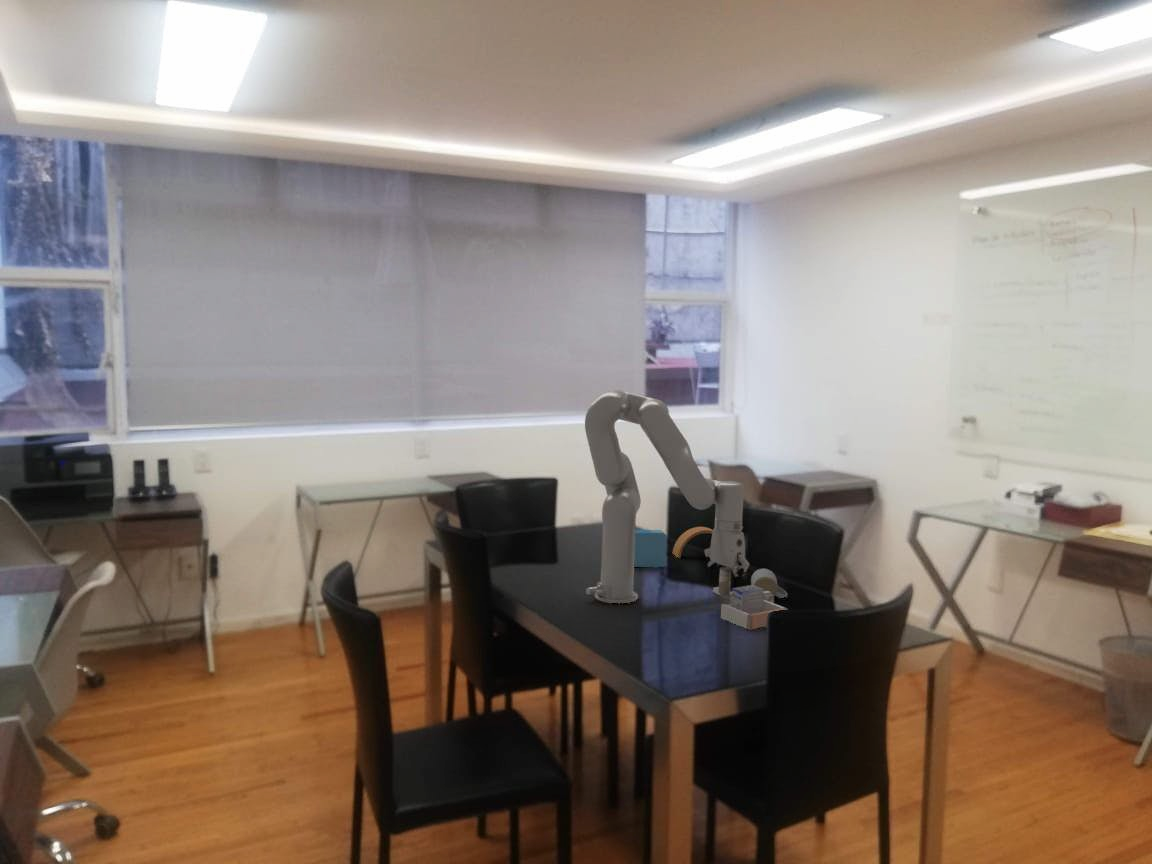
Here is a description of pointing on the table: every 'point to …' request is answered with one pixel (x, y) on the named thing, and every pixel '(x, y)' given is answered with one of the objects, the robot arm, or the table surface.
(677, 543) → the arch
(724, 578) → the crank handle
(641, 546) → the data package
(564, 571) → the table surface
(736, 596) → the medicine box
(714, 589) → the guide rail
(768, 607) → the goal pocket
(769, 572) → the ceramic mug
